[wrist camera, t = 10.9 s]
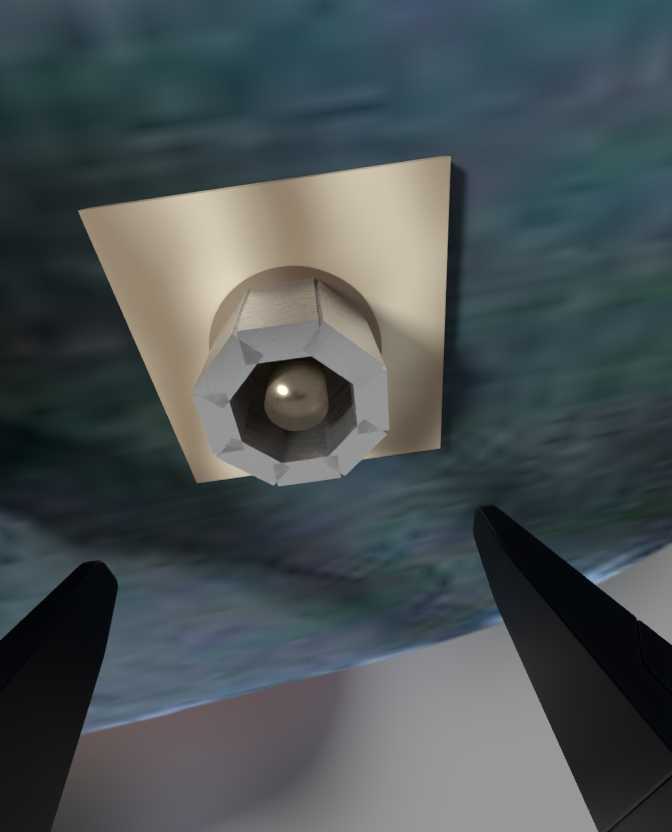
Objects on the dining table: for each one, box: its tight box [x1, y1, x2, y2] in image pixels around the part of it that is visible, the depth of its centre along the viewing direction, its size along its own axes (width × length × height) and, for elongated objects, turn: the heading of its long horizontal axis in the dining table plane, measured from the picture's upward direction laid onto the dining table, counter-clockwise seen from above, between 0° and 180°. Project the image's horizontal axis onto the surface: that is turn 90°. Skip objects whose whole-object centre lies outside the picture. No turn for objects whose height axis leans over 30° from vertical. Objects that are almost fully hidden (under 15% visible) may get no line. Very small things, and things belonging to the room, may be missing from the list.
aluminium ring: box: [192, 278, 389, 486], centre depth 17 cm, size 7×7×5 cm
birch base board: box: [78, 156, 451, 483], centre depth 19 cm, size 14×14×1 cm
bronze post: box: [264, 356, 328, 431], centre depth 17 cm, size 2×2×4 cm
